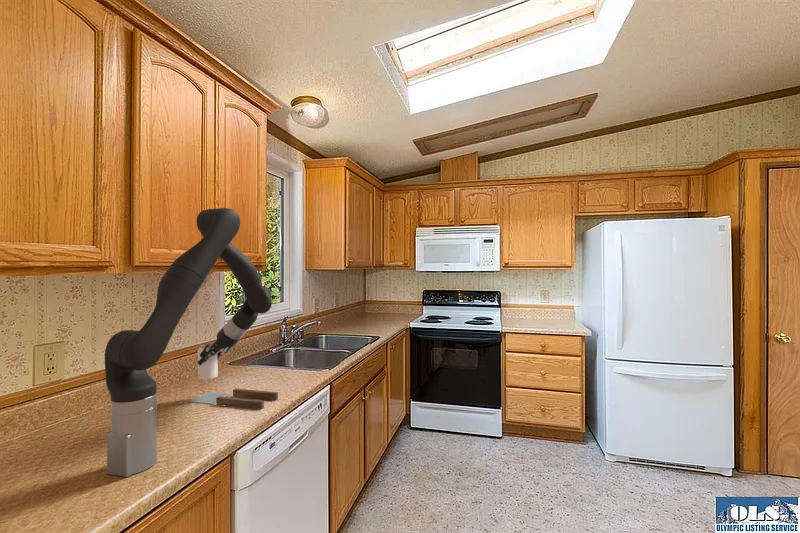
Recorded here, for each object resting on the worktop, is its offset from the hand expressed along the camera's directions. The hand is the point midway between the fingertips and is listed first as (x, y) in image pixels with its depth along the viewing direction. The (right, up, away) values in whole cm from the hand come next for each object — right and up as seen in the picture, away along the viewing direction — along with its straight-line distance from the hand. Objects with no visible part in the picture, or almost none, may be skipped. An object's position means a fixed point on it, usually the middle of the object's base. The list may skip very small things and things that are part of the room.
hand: (206, 362), depth 139 cm
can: (+1, -6, 0) cm, 6 cm away
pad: (+2, -13, 0) cm, 13 cm away
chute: (+17, -13, -4) cm, 22 cm away
